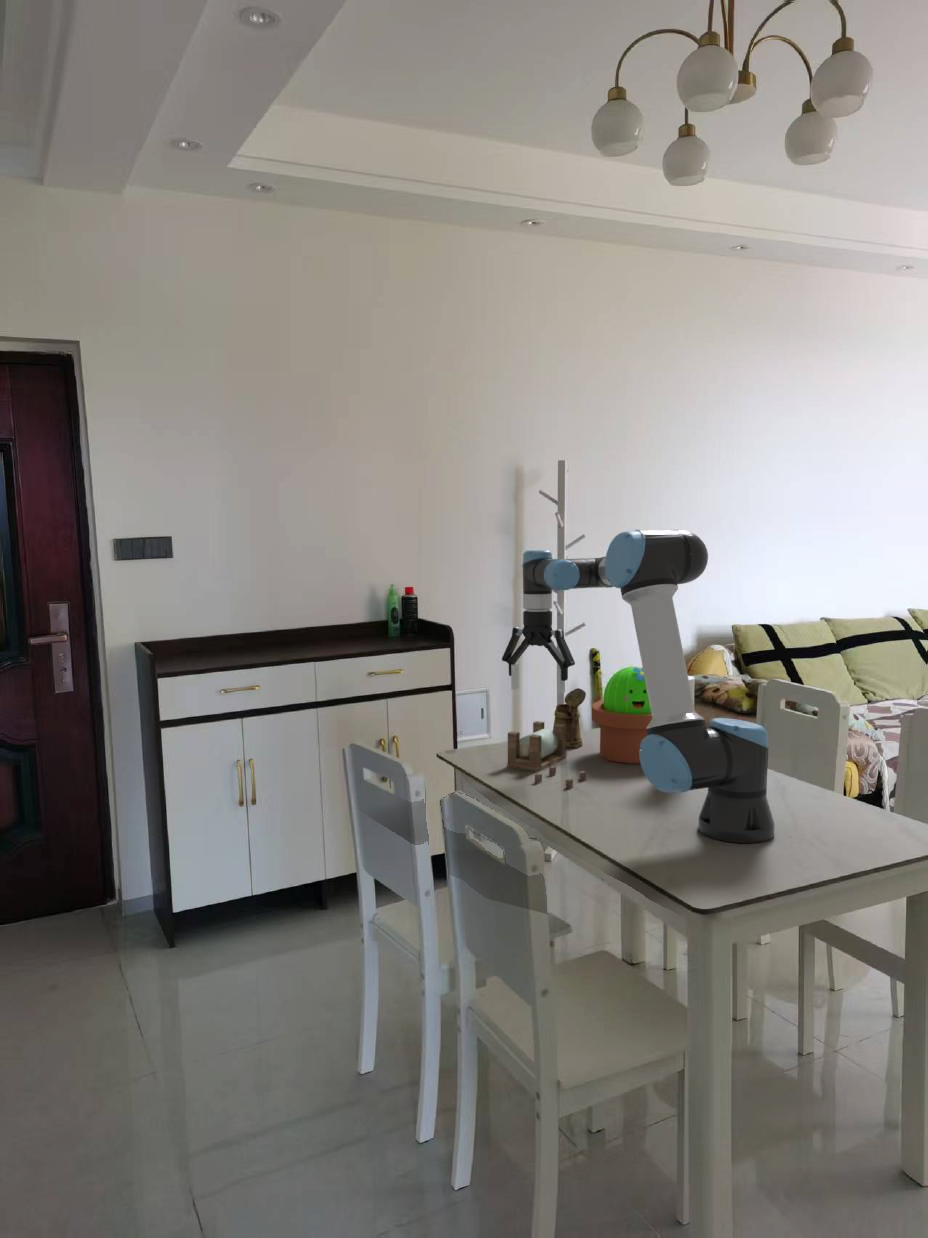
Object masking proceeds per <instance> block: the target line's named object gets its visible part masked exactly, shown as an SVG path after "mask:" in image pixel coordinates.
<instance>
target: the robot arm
mask: <svg viewBox="0 0 928 1238" xmlns="http://www.w3.org/2000/svg"><path fill="white" fill-rule="evenodd" d="M522 556H523V557H522V565H521V567H522V592H523V593H522V609H523V612H522V623H523V628H522V627H521V626H516V627H513V628H512V632H511V637H510V639H509V641H508V644H507V646H506V648H505V650H504V653H503V655H502V657H501V660H502V662H505V663H507V664H508V676H509V677H511V679H510V681H511V690H516V689H519V688H520V663H518V662H517V661H518V660H519V659H520V658H521V657H522V655H523V654H524V652H526V650H527V649H528V647H530V646H531V647H533V646H538V647H544V648H545V649H547V651H548V652H549V653H550V655H551V656H552V658H553V659H554V660H555V662H556V663H557V665H558V666H559V667H558V668H557V695H558V694H559V695H561V694H564V693H566V681H568V679H569V668H570V667H572V666H574V665H575V664H576V661H575V659H574V657H573V655H572V653H571V650H570V648H569V646H568V643H567V641H566V639H565V634H564V633H565V632H564V630H563V629H562V628H561V629H555V630H553V628H552V625H553V612H552V610H551V609H552V608H553V590H555V591H569V590H574V589H575V590H576V589H592V588H596V589H597V588H607V589H608V588H616V589H620V594H621V599H622V600H623V601H624V602H626V603H628V604H629V605H630V607H631V613H632V617H633V619H632V620H633V622H634V623H633V624H634V629H635V633H636V638H637V644H638V645H637V646H638V650H639V654H640V660H641V665H642V666H641V667H643V672H644V677H645V682H646V688H647V693H648V698H649V704H650V709H651V714H652V720H651V722H650V723H649V725H648V726H647V728H646V729H647V734H648V736H647V737H645V738H644V739H643V740H642V742H641V745H640V747H641V749H640V750H639V757H640V763H641V764H640V767H641V770H642V771H643V774H644V776H645V777H646V779H647V780H648V782H649V783H650V784H652V786H653V787H654V788H656V789H657V790H658V791H660V792H664V793H685V792H688V791H695V790H700V789H701V790H703V789H706V788H707V793H706V796H705V800H704V802H703V804H702V807H701V810H700V812H699V815H698V825H697V826H698V830H699V831H700V833H702V834H703V835H705V836H707V837H709V838H712V839H716V840H719V841H722V842H728V843H738V844H755V843H762V842H765V841H769V840H771V839H772V838H774V837H775V821H774V817H773V815H772V811H771V809H770V807H771V806H770V805H769V801H768V797H767V795H768V793H767V787H768V769H769V768H768V765H769V749H770V746H769V733H768V731H767V729H766V728H765V727H764V726H762V725H760V724H758V723H755V722H750V721H748V720H741V719H736V718H735V719H734V718H729V717H728V718H726V717H725V718H724V717H714V718H711V719H710V720H709V724H708V728H707V725H706V720H705V718H704V717H703V716H701V715H700V714H699V713H697V712H696V710H695V703H694V704H693V699H692V694H691V689H690V684H689V679H688V676H689V675H688V669H687V664H686V660H685V655H684V648H683V644H682V638H681V634H680V629H679V624H678V620H677V615H676V610H675V603H674V599H673V597H674V595H675V594H676V592H677V591H678V589H679V585H683V584H688V583H691V582H693V581H695V580H696V579H698V578H699V577H701V575H702V574H704V572H705V570H706V569H707V568H706V567H708V566H707V565H708V561H709V553H708V548H707V546H706V544H705V543H704V541H703V539H701V538H700V537H699V536H698V535H696V534H695V533H693V532H691V531H688V530H684V529H666V530H665V529H662V530H660V529H658V530H657V529H655V530H653V529H651V530H650V529H649V530H648V529H645V530H644V529H635V530H631V531H629V530H627V531H622V532H619V533H618V534H616V535H615V537H614V538H612V540H611V541H610V543H609V545H608V548H607V550H606V555H605V556H602V557H588V558H553V553H552V551H550V550H544V549H543V550H542V549H541V550H540V549H538V550H537V549H535V550H525V551H524V552H523V554H522ZM522 635H523V637H524V639H523V640H522V641H521V642H520V645H519V646H518V647H517V645H518V642H519V641H520V638H521V636H522ZM552 637H553V638H555V640H556V641H555V642H556V644H557V646H558V648H557V646H556V644H555V642H554V640H553V639H552ZM516 647H517V648H516ZM768 839H769V840H768Z"/></svg>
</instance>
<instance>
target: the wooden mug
mask: <svg viewBox="0 0 928 1238" xmlns="http://www.w3.org/2000/svg"><path fill="white" fill-rule="evenodd" d="M586 693H587V692H586V691H584V689H581V688H579V687H577V688H575V689H573V690H571V691H569V692H568V693H567V694H566V696H565V697H564V703H559V704H557V705H556V707H555V710H554V714H553V715H554V722H553V729H552V732H554V725H556V724H563V725H566V743H565V749H577V748H580V747H582V746H583V738H582V735H581V734H582V733H581V727H580V717H581V715H580V711H579V709H578V708H579V706H580V705H581V704H583V702H584V701H585V699H586V697H587V696H586V695H587V694H586ZM579 746H580V747H579ZM576 747H577V748H576Z"/></svg>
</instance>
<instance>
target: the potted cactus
mask: <svg viewBox="0 0 928 1238" xmlns="http://www.w3.org/2000/svg"><path fill="white" fill-rule="evenodd" d="M630 665H631V666H630ZM630 665H627V667H625V666H623V668H621V669H619V670H617V671H616V673H615V672H614V673H612V676H611V677H610V676H609V677H608V678H607V679H609V680H608V681H606V683H607V684H606V686H605V687H604V689H603V690H602V691H604V693H603V695H601V697H602V698H601V700H598V701H596V702H593V703H592V705H591V720H592V722H594V723H595V724H598V725H599V726H600V727H599V731H600V732H599V753H600V755H601V757H603V758H604V759H606V760H608V761H610V762H615V763H620V764H629V765H630V764H632V765H633V764H635V765H636V764H637V765H638V764H640V765H641V763H640V757H639V750H640V749H641V747H640V745H641V742H642V740H643V739H644V738H645V737H647V736H648V734H647V729H646V728H647V726H648V725H649V723H650V722H651V720H652V714H651V709H650V704H649V698H648V693H647V688H646V682H645V677H644V672H643V666H641V667H639V666H633V664H630Z"/></svg>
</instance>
